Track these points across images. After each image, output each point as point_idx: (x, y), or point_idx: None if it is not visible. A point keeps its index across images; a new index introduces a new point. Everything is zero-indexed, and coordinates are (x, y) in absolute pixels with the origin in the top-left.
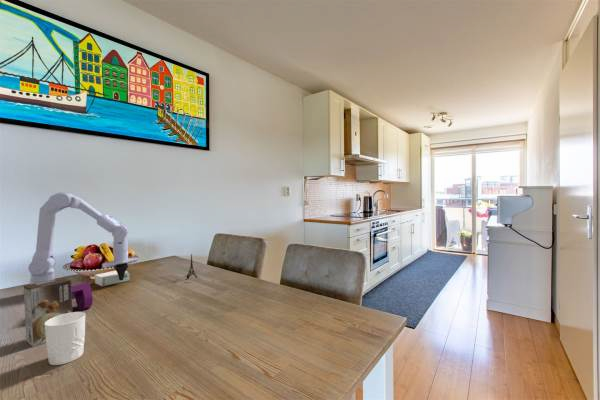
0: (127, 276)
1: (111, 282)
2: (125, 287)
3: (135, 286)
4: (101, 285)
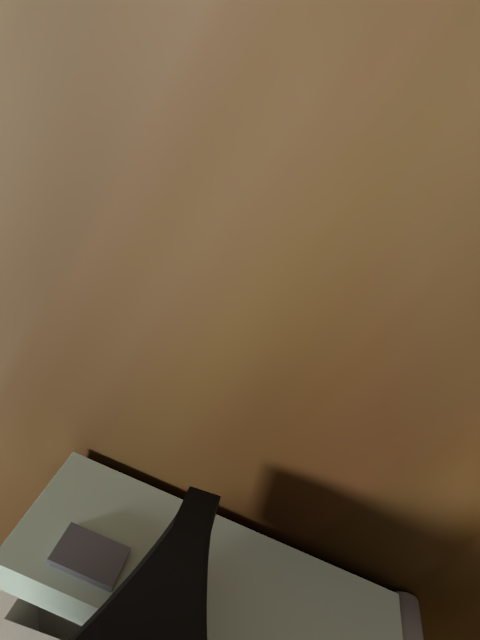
0: (58, 527)
1: (311, 586)
2: (354, 218)
3: (224, 32)
4: None
